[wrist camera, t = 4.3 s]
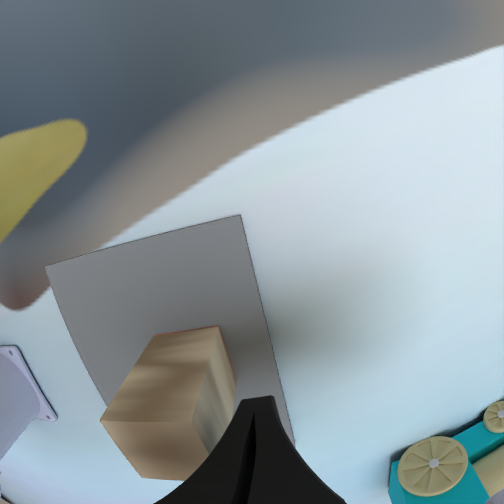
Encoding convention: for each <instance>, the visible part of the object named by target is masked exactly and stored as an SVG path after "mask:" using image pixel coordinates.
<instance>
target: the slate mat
mask: <svg viewBox="0 0 504 504" xmlns="http://www.w3.org/2000/svg"><path fill="white" fill-rule="evenodd" d="M45 270H46V273H47V276H48V279H49V282H50V285H51V288H52V290H53V293H54V296H55V299H56V301H57V304H58V307H59V309H60V312H61V314H62V317H63V319H64V322H65V324H66V326H67V329H68V331H69V333H70V336H71V338H72V340H73V342H74V344H75V347H76V349H77V351H78V353H79V355H80V357H81V359H82V361H83V363H84V365H85V367H86V369H87V371H88V373H89V375H90V377H91V379H92V381H93V382H94V384H95V386H96V388H97V390H98V392H99V393H100V395H101V397H102V399H103V400H104V402H105V404H106V405H107V407H108V406H109V404H110V403H111V401H112V399H113V398H114V396H115V395H116V393H117V391H118V390H119V388H120V387H121V385H122V383H123V382H124V380H125V379H126V377H127V376H128V374H129V373H130V371H131V369H132V368H133V366H134V365H135V363H136V362H137V360H138V359H139V357H140V356H141V354H142V352H143V351H144V349H145V348H146V346H147V345H148V343H149V342H150V340H151V339H152V337H153V336H154V335H156V334H163V333H170V332H177V331H184V330H190V329H197V328H203V327H209V326H215V325H219V327H220V330H221V333H222V336H223V340H224V343H225V346H226V349H227V352H228V355H229V358H230V362H231V365H232V368H233V371H234V374H235V377H236V380H237V384H236V392H235V400H234V408H233V416H234V414H235V412H236V410H237V408H238V405H239V403H240V401H241V400H242V399H249V398H256V397H262V396H269V395H272V396H274V397H275V401H276V405H277V408H278V412H279V416H280V420H281V423H282V426H283V428H284V430H285V432H286V434H287V435H288V437H289V439H290V441H291V442H292V444H293V445H294V447H295V441H294V437H293V432H292V428H291V424H290V420H289V416H288V412H287V408H286V403H285V399H284V395H283V391H282V387H281V383H280V378H279V374H278V370H277V366H276V362H275V358H274V353H273V349H272V345H271V341H270V337H269V333H268V328H267V324H266V320H265V316H264V312H263V307H262V303H261V299H260V295H259V291H258V286H257V282H256V278H255V274H254V270H253V265H252V261H251V257H250V253H249V248H248V244H247V240H246V236H245V232H244V227H243V223H242V219H241V215H237V216H233V217H228V218H224V219H220V220H215V221H211V222H207V223H203V224H199V225H195V226H190V227H186V228H182V229H178V230H174V231H170V232H166V233H162V234H159V235H155V236H151V237H147V238H143V239H139V240H135V241H132V242H128V243H124V244H121V245H117V246H113V247H110V248H106V249H102V250H99V251H95V252H92V253H88V254H85V255H81V256H78V257H75V258H71V259H67V260H64V261H60V262H57V263H54V264H50V265H48V266H46V267H45ZM233 416H232V418H233ZM295 448H296V447H295Z"/></svg>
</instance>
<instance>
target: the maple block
mask: <svg viewBox="0 0 504 504" xmlns="http://www.w3.org/2000/svg"><path fill="white" fill-rule="evenodd" d="M236 384H237V380H236V377H235V374H234V371H233V368H232V365H231V362H230V358H229V355H228V352H227V349H226V346H225V343H224V340H223V336H222V333H221V330H220V327H219V325H215V326H209V327H203V328H197V329H190V330H184V331H177V332H170V333H163V334H156V335H154V336H153V337H152V339H151V340H150V342H149V343H148V345H147V346H146V348H145V349H144V351H143V352H142V354H141V356H140V357H139V359H138V360H137V362H136V363H135V365H134V366H133V368H132V369H131V371H130V373H129V374H128V376H127V377H126V379H125V380H124V382H123V383H122V385H121V387H120V388H119V390H118V391H117V393H116V395H115V396H114V398H113V399H112V401H111V403H110V404H109V406H108V407H107V409H106V411H105V412H104V414H103V415H102V417H101V419H100V422H101V423H102V425H103V426H104V428H105V429H106V431H107V432H108V434H109V435H110V437H111V438H112V439H113V441H114V442H115V444H116V445H117V446H118V448H119V449H120V451H121V452H122V453H123V455H124V456H125V457H126V458H127V460H128V461H129V462H130V464H131V465H132V466H133V467H134V469H135V470H136V471H137V472H138V474H139V475H140V476H141V477H142V478H150V479H162V480H181V481H185V480H186V479H188V478H189V477H190V476H191V475H192V474H193V473H194V472H195V471H196V470H197V469H198V468H199V466H200V465H201V464H202V463H203V462H204V461H205V459H206V458H207V457H208V456H209V454H210V453H211V452H212V450H213V449H214V448H215V446H216V445H217V443H218V442H219V440H220V439H221V437H222V436H223V434H224V432H225V431H226V429H227V427H228V425H229V424H230V422H231V420H232V416H233V408H234V400H235V392H236Z"/></svg>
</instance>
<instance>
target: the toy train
mask: <svg viewBox="0 0 504 504" xmlns="http://www.w3.org/2000/svg"><path fill="white" fill-rule="evenodd" d="M503 488H504V401H498V402H495V403H493V404H492V405H490V406H489V407H488V408H487V409H486V411H485V413H484V417H483V421H481V422H480V423H478V424H476V425H474V426H472V427H471V428H469V429H467V430H465V431H463V432H461V433H459V434H457V435H455V436H454V437H452V438H449V437H444V436H435V437H429V438H426V439H424V440H421V441H419V442H417V443H415V444H413V445H412V446H411V447H409V448H408V449H407V450H406V451H405V453H404V454H403V455H402V457H401V459H400V460H398V461H395V462H393V463H392V466H391V474H390V482H389V490H388V493H389V496H390V499H391V502H392V504H485V502H486V501H487V500H488V499H489V498H490V497H492V496H493V495H494V494H496V493H497V492H499V491H500V490H502V489H503Z"/></svg>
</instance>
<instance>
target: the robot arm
mask: <svg viewBox="0 0 504 504" xmlns="http://www.w3.org/2000/svg"><path fill="white" fill-rule="evenodd" d="M34 418H38V419H43V420H48V421H56V420H57V416H56V414H55V413H54V411H53V410H52V408H51V407H50V405H49V404H48V402H47V400H46V399H45V397H44V396H43V394H42V392H41V390H40V389H39V387H38V385H37V384H36V382H35V380H34V378H33V376H32V375H31V373H30V371H29V369H28V367H27V365H26V363H25V361H24V359H23V357H22V355H21V353H20V351H19V350H18V348H17V347H15V346H0V460H1V459H2V458H3V457H4V455H5V454H6V453H7V451H8V450H9V449H10V447H11V446H12V445H13V444H14V442H15V441H16V440H17V439H18V437H19V436H20V435H21V434H22V432H23V431H24V430H25V429H26V427H27V426H28V425H29V424H30V422H31V421H32V420H33V419H34ZM0 474H1V472H0ZM0 498H1V486H0ZM154 504H346V502H345V501H344V499H342V498H341V497H340V496H339V495H337V494H336V493H335V492H334V491H333V490H331V489H330V488H329V487H328V486H327V485H326V484H325V483H324V482H323V481H322V480H321V479H320V478H319V477H318V476H317V475H316V474H315V473H314V472H313V471H312V469H311V468H310V467H309V466H308V465H307V464H306V462H305V461H304V460H303V458H302V457H301V456H300V454H299V453H298V452H297V450H296V449H295V447H294V445H293V444H292V442H291V441H290V439H289V437H288V435H287V434H286V432H285V430H284V428H283V426H282V423H281V420H280V416H279V412H278V408H277V405H276V401H275V397H274V396H272V395H269V396H262V397H256V398H249V399H242V400H241V401H240V403H239V405H238V408H237V410H236V412H235V414H234V416H233V418H232V420H231V422H230V424H229V425H228V427H227V429H226V431H225V432H224V434H223V436H222V437H221V439H220V440H219V442H218V443H217V445H216V446H215V448H214V449H213V450H212V452H211V453H210V454H209V456H208V457H207V458H206V459H205V461H204V462H203V463H202V464H201V465H200V466H199V468H198V469H197V470H196V471H195V472H194V473H193V474H192V475H191V476H190V477H189V478H188V479H186V480H185V481H184V482H183V483H182V484H181V485H179V486H178V487H177V488H176V489H174V490H173V491H172V492H171V493H169V494H168V495H167V496H165V497H164V498H162V499H161V500H159V501H157V502H156V503H154ZM485 504H504V488H503V489H502V490H500V491H499V492H497V493H496V494H494V495H493V496H492V497H490V498H489V499H488V500H487V501H486V502H485Z"/></svg>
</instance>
